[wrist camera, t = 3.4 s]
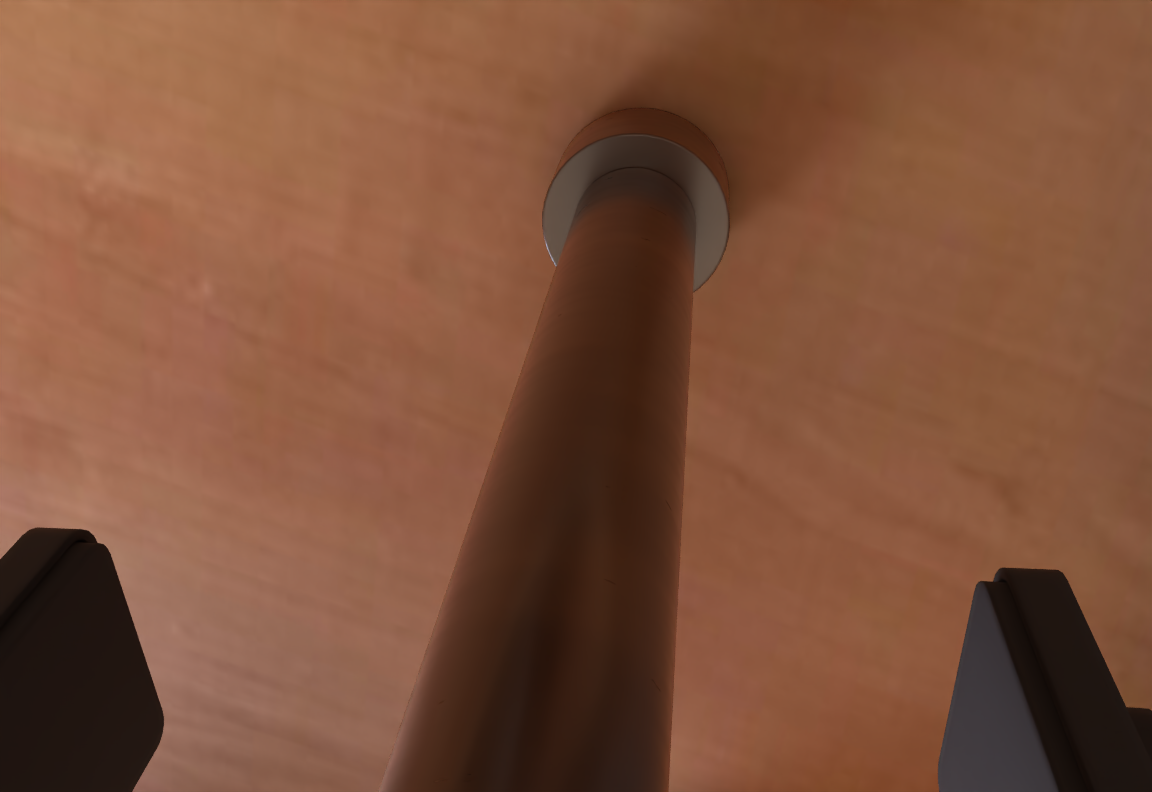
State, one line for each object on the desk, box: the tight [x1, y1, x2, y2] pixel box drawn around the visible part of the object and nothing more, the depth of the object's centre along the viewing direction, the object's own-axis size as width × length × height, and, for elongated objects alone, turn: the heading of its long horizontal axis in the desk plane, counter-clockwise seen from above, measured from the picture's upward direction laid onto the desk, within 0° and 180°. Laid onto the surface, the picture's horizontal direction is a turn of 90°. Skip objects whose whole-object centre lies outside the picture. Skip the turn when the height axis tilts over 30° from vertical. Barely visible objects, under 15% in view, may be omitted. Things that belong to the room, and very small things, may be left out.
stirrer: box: [378, 108, 730, 792], centre depth 16 cm, size 4×4×18 cm
